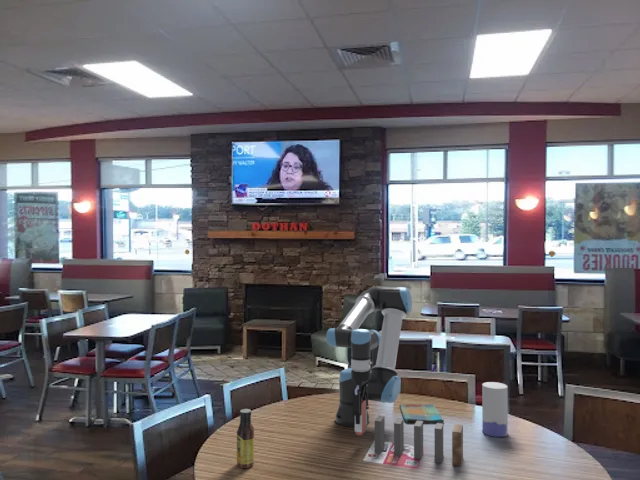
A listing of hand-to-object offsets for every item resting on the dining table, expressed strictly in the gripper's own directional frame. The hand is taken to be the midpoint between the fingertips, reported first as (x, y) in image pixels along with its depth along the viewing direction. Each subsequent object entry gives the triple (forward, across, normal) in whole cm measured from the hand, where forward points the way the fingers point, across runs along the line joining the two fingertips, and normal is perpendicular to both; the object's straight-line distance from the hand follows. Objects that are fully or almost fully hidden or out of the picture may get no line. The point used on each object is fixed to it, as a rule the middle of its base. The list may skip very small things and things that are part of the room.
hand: (360, 428), depth 198 cm
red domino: (+1, 0, 0) cm, 1 cm away
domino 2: (+7, 0, -15) cm, 17 cm away
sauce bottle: (+7, -30, +34) cm, 46 cm away
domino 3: (+7, 0, -22) cm, 24 cm away
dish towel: (+8, +45, -16) cm, 48 cm away
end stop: (+7, 0, -37) cm, 37 cm away
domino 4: (+7, 0, -30) cm, 31 cm away
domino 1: (+7, 0, -8) cm, 10 cm away
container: (+7, +34, -48) cm, 60 cm away
